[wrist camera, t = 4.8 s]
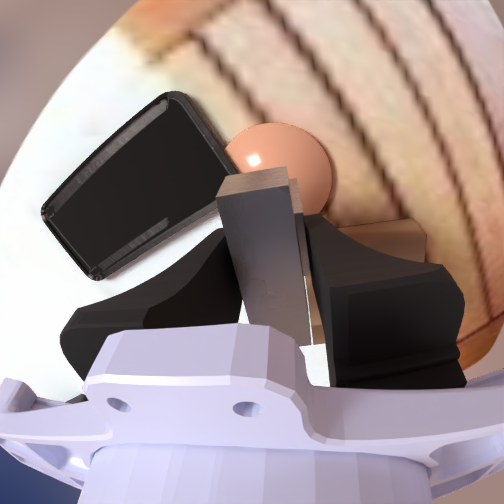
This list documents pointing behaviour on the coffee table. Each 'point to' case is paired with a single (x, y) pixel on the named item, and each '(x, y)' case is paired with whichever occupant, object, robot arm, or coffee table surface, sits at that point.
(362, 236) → the socket block
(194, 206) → the phone
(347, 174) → the coffee table surface
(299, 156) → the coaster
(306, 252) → the t key
